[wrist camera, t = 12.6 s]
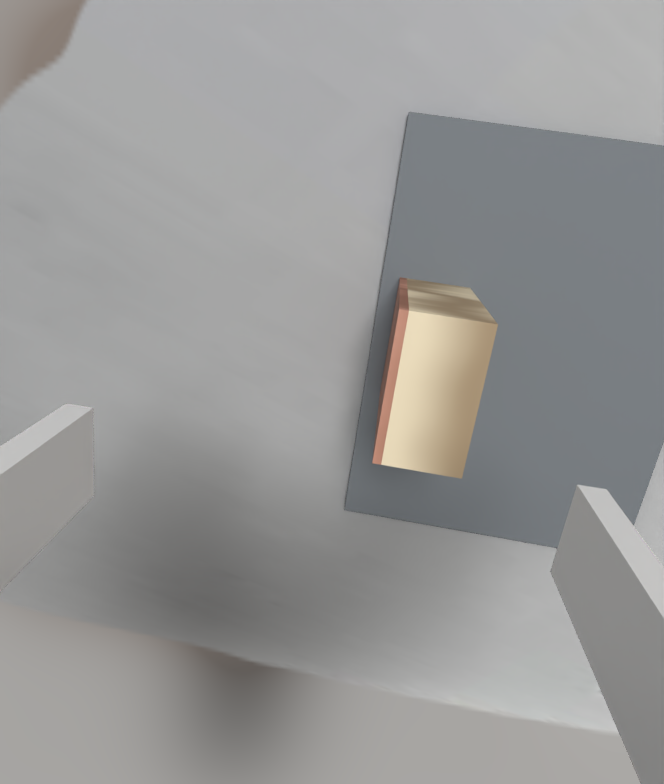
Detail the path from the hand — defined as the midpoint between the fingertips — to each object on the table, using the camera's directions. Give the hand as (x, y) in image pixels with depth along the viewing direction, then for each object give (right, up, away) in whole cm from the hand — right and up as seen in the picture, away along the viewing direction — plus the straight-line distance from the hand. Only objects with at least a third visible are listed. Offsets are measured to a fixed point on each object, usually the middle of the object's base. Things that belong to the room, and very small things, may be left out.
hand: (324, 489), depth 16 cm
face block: (+6, +6, +18) cm, 20 cm away
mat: (+12, +5, +18) cm, 22 cm away
